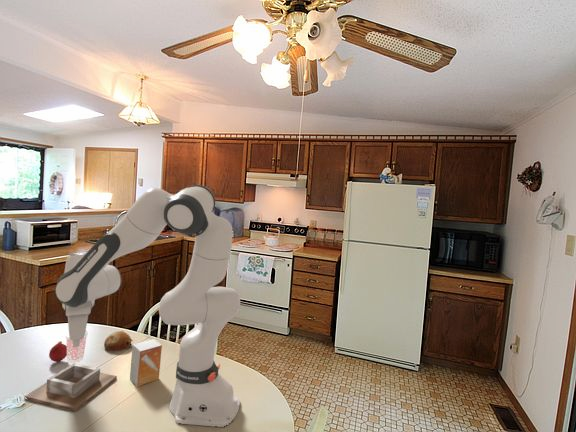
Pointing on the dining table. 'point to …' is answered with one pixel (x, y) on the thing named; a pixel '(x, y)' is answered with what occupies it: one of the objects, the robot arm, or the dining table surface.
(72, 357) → the beverage cup
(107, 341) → the bread roll
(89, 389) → the walnut board
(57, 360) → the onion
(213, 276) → the robot arm
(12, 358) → the dining table surface
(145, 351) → the small box
